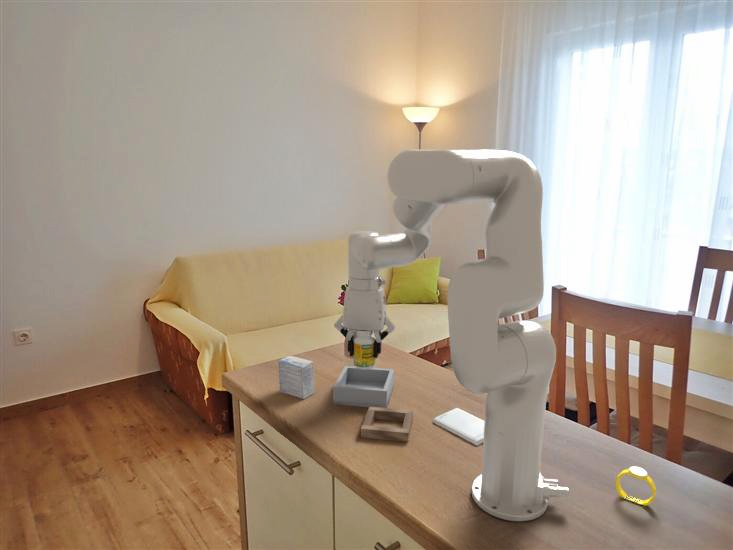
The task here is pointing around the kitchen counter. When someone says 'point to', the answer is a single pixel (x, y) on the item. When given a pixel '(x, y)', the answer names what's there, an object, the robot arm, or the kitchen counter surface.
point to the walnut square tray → (387, 432)
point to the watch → (638, 474)
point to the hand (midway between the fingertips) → (364, 354)
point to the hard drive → (462, 425)
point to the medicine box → (296, 377)
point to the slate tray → (364, 387)
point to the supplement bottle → (364, 350)
